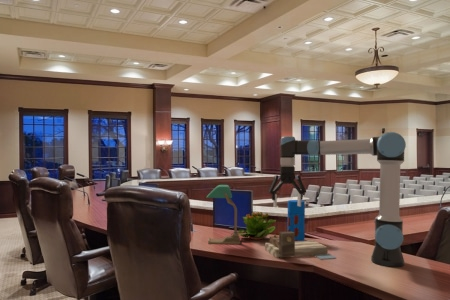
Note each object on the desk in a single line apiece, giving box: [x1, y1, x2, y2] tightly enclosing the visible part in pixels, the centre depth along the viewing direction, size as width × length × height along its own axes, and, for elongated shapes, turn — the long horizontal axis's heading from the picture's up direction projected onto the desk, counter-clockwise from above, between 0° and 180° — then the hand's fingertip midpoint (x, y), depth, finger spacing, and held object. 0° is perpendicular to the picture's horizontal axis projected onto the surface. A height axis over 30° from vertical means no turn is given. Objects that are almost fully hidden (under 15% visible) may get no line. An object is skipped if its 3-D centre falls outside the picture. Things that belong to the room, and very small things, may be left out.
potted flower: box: [237, 212, 276, 241], centre depth 232 cm, size 25×24×18 cm
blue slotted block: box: [287, 199, 306, 241], centre depth 227 cm, size 11×11×25 cm
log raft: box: [264, 240, 329, 259], centre depth 197 cm, size 16×30×4 cm, turn 104°
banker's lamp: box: [206, 184, 241, 245], centre depth 219 cm, size 16×21×35 cm
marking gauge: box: [269, 231, 295, 256], centre depth 192 cm, size 21×7×12 cm, turn 14°
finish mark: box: [313, 253, 337, 260], centre depth 188 cm, size 8×9×1 cm
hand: (287, 206), depth 186 cm, fingers open, 13 cm apart
